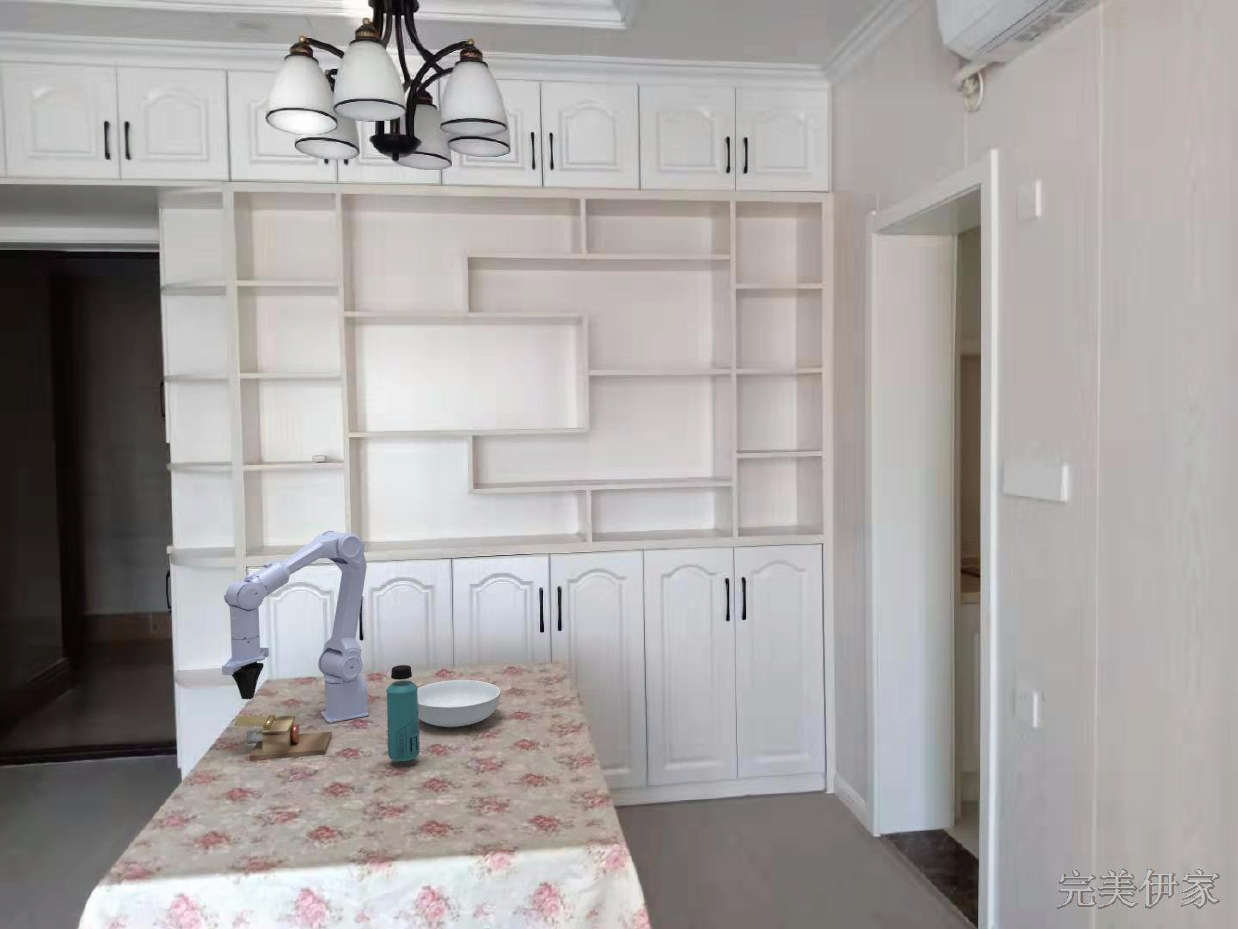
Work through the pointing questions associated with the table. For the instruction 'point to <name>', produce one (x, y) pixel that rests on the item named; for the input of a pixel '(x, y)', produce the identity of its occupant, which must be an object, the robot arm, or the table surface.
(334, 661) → the robot arm
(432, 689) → the serving bowl
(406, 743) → the beverage bottle
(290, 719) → the hitch block
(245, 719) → the brass hinge flap
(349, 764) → the table surface
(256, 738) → the pin
